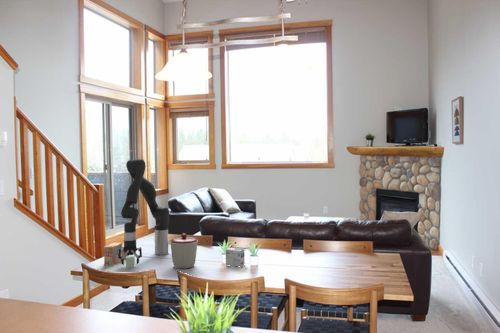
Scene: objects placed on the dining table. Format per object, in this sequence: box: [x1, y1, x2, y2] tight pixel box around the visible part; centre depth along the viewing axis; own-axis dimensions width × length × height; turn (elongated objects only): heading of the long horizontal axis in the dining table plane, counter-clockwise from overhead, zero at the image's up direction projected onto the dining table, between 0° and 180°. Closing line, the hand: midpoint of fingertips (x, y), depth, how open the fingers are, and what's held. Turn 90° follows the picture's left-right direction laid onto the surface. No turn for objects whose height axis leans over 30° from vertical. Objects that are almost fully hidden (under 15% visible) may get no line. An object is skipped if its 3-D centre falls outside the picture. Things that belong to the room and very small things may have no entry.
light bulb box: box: [225, 247, 246, 268], centre depth 273 cm, size 11×7×11 cm, turn 71°
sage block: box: [125, 255, 136, 268], centre depth 270 cm, size 5×5×6 cm
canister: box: [168, 232, 199, 270], centre depth 269 cm, size 18×18×21 cm
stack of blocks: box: [103, 242, 130, 267], centre depth 282 cm, size 21×6×12 cm, turn 169°
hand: (130, 264), depth 270 cm, fingers open, 8 cm apart
